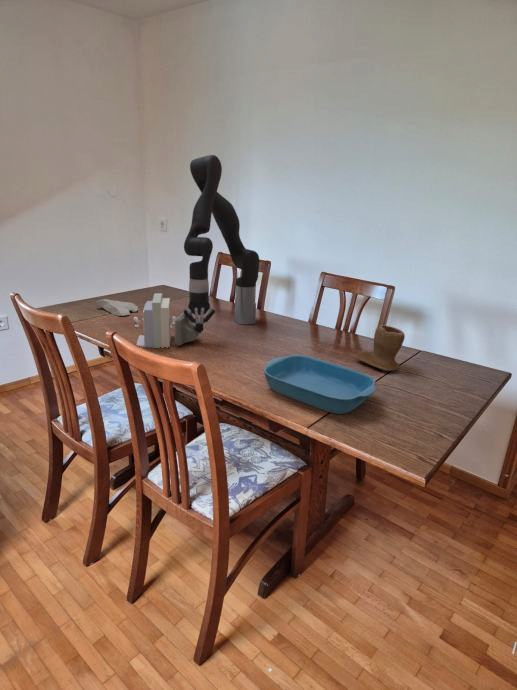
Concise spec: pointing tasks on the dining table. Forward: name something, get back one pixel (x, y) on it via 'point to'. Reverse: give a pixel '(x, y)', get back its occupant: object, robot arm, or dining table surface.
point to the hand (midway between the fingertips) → (199, 331)
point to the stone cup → (384, 348)
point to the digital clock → (184, 329)
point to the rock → (117, 307)
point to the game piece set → (142, 319)
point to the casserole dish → (319, 383)
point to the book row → (156, 323)
